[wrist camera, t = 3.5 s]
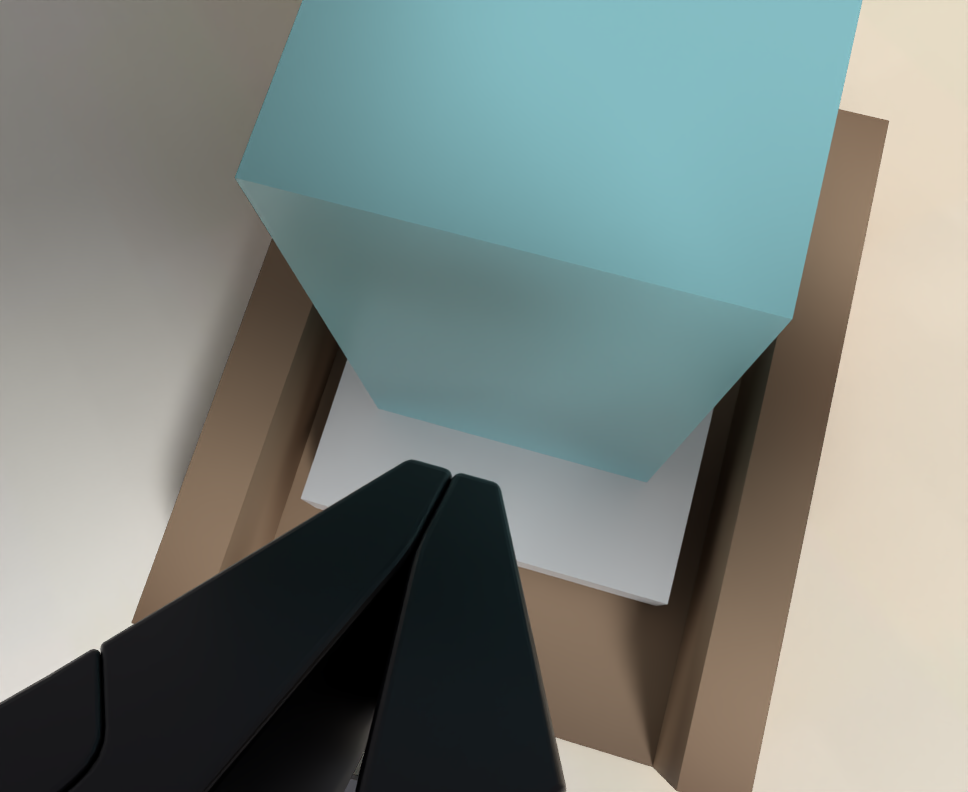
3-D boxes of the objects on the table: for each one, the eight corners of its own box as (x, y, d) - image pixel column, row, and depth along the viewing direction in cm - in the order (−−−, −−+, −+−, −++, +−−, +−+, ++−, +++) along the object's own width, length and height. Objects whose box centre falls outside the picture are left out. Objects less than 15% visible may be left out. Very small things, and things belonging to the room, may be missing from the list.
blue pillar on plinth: (656, 605, 15) (847, 573, 7) (316, 508, 16) (66, 355, 7) (756, 181, 17) (1016, -298, 8) (448, 107, 18) (381, -413, 9)
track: (710, 783, 15) (747, 812, 13) (189, 624, 16) (131, 622, 14) (837, 190, 18) (889, 120, 15) (380, 81, 19) (359, -1, 16)
